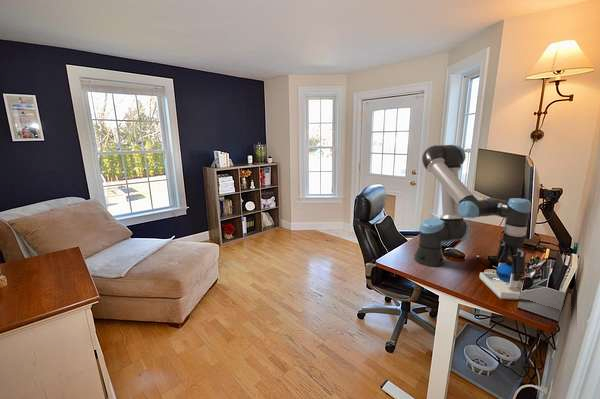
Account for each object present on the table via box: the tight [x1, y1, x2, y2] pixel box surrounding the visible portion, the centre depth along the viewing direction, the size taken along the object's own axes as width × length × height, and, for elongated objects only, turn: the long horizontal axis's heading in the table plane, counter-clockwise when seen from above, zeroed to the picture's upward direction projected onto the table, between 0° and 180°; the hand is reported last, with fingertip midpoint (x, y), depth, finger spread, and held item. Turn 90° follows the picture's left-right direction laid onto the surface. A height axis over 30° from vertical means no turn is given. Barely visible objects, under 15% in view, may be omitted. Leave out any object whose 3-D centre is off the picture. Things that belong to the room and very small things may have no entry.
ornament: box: [495, 260, 521, 283], centre depth 118 cm, size 9×9×10 cm
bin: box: [478, 272, 524, 301], centre depth 120 cm, size 14×18×3 cm
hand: (506, 281), depth 119 cm, fingers closed on ornament, 9 cm apart
